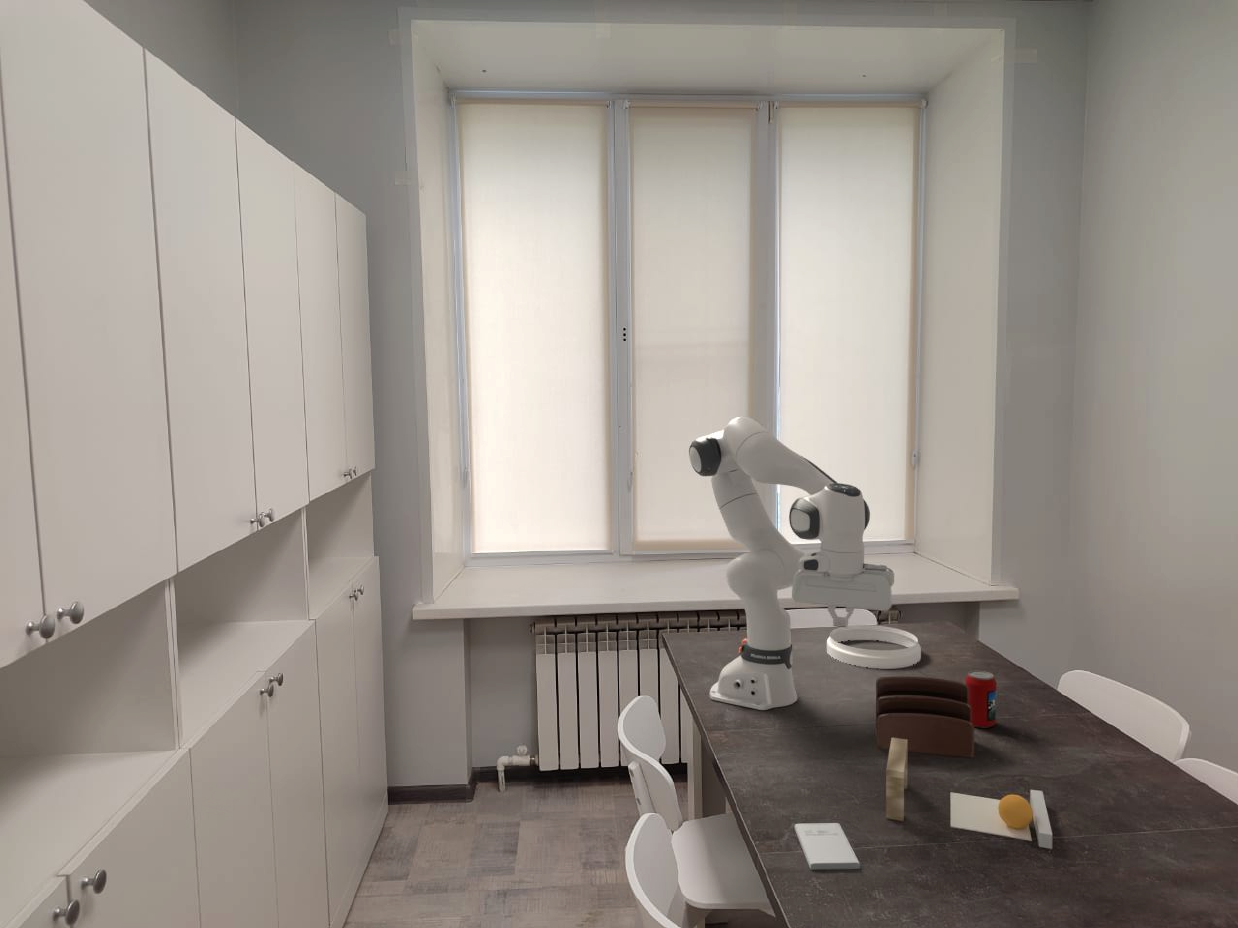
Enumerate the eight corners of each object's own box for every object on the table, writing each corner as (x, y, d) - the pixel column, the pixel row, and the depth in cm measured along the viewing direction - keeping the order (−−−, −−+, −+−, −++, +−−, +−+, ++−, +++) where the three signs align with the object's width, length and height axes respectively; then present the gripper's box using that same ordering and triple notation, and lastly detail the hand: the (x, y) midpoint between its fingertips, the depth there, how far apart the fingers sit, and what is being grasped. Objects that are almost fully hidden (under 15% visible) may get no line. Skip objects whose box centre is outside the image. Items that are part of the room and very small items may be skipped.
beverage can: (999, 730, 182) (1000, 679, 181) (968, 728, 184) (968, 678, 183) (991, 718, 189) (992, 669, 188) (961, 717, 190) (962, 668, 189)
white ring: (813, 659, 235) (813, 641, 235) (844, 636, 257) (844, 619, 257) (906, 676, 220) (906, 656, 219) (930, 649, 242) (930, 632, 241)
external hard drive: (810, 872, 131) (794, 831, 143) (860, 871, 131) (839, 830, 143) (810, 863, 131) (794, 822, 143) (860, 862, 130) (839, 821, 143)
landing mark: (950, 826, 142) (950, 825, 142) (950, 793, 154) (950, 792, 154) (1031, 840, 137) (1031, 839, 137) (1024, 804, 149) (1025, 803, 149)
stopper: (1038, 846, 136) (1039, 832, 135) (1030, 801, 150) (1030, 789, 150) (1052, 848, 135) (1052, 834, 135) (1042, 803, 150) (1042, 791, 149)
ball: (993, 821, 141) (1011, 799, 139) (990, 804, 146) (1008, 782, 144) (1023, 841, 140) (1041, 818, 138) (1019, 822, 145) (1037, 800, 143)
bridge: (886, 817, 146) (886, 769, 145) (891, 781, 159) (891, 737, 159) (903, 820, 145) (903, 771, 144) (907, 784, 158) (907, 739, 157)
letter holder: (875, 731, 184) (875, 672, 183) (967, 739, 178) (968, 679, 177) (876, 749, 175) (877, 687, 173) (974, 759, 169) (975, 695, 168)
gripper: (895, 562, 164) (893, 627, 165) (796, 555, 172) (795, 617, 173) (893, 569, 158) (891, 636, 160) (790, 561, 166) (789, 625, 168)
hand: (840, 626), depth 167 cm, fingers closed
